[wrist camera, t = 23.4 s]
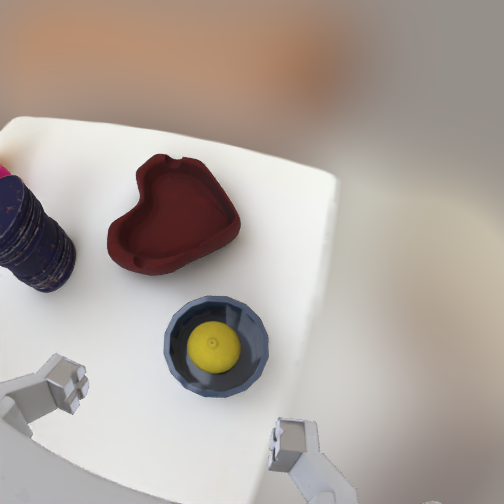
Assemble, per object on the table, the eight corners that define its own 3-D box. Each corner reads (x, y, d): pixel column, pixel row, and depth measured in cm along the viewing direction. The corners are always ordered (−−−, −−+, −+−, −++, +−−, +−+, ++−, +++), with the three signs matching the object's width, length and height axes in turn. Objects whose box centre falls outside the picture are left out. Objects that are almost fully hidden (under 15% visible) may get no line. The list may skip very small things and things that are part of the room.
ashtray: (224, 299, 36) (223, 287, 32) (109, 270, 36) (95, 255, 32) (251, 187, 44) (254, 165, 39) (152, 170, 44) (146, 148, 39)
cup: (217, 410, 30) (215, 418, 24) (159, 349, 33) (143, 341, 26) (278, 353, 34) (289, 346, 28) (219, 295, 36) (218, 276, 30)
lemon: (244, 335, 34) (249, 323, 26) (231, 380, 31) (233, 380, 24) (199, 322, 34) (192, 306, 27) (186, 366, 32) (174, 361, 24)
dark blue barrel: (41, 228, 38) (-6, 172, 24) (85, 238, 38) (38, 176, 24) (19, 284, 34) (-42, 240, 20) (62, 301, 34) (-3, 257, 20)
